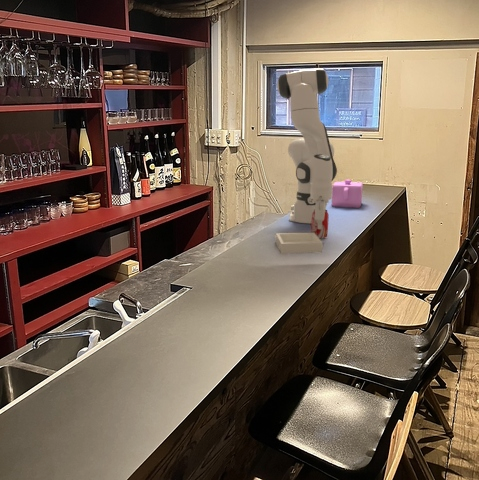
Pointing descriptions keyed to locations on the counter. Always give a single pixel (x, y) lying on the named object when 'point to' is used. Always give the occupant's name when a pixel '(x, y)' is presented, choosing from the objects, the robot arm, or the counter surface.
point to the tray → (298, 242)
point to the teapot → (347, 194)
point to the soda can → (324, 231)
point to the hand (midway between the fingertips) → (320, 226)
